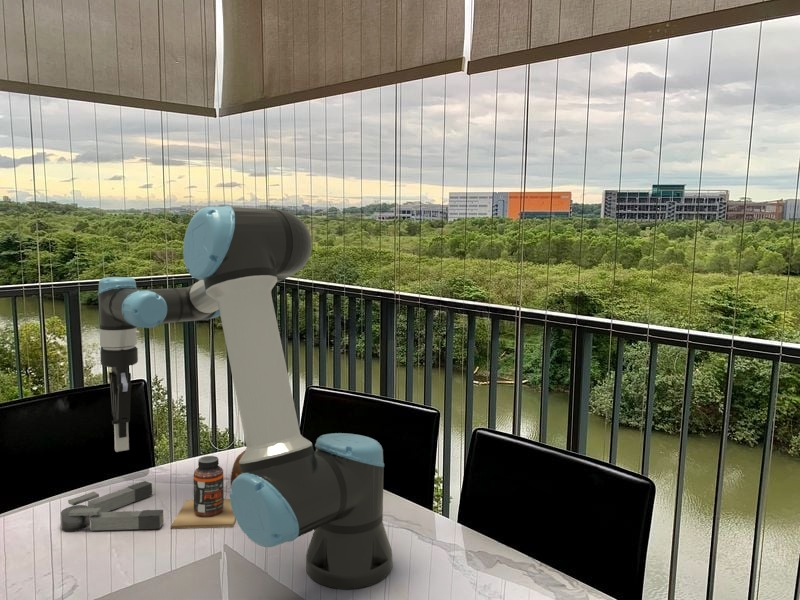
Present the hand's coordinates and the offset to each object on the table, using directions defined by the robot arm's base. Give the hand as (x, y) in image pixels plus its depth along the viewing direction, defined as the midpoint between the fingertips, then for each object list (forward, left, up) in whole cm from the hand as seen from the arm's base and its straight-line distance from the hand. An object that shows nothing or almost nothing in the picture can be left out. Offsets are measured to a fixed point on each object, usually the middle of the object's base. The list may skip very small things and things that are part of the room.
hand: (121, 449), depth 136 cm
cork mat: (-14, -22, -9) cm, 28 cm away
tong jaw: (-10, -1, -9) cm, 13 cm away
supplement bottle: (-14, -22, -9) cm, 27 cm away
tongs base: (-17, -4, -9) cm, 20 cm away
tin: (+1, -28, -10) cm, 30 cm away
